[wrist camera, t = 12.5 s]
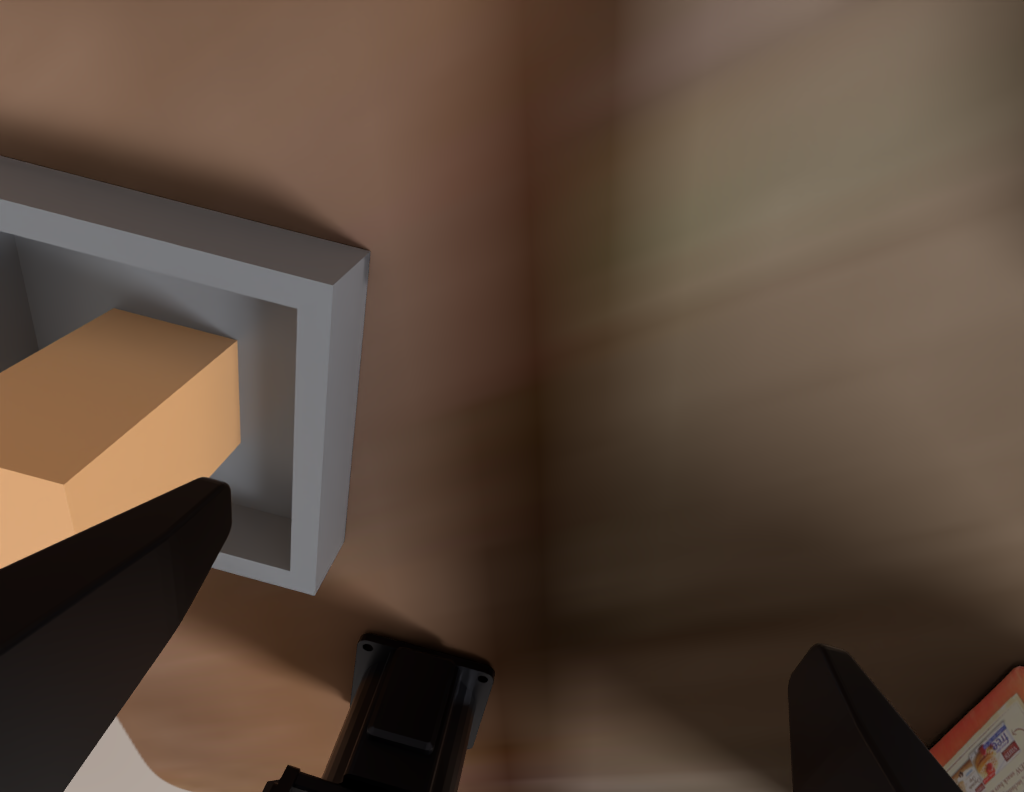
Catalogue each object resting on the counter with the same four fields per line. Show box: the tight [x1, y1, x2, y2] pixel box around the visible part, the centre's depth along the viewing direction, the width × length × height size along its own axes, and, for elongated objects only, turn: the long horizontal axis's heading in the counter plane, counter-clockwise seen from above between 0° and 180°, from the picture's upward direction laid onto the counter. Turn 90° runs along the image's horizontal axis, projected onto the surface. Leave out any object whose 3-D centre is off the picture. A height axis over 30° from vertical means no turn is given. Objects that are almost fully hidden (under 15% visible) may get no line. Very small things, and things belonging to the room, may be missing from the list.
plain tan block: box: [0, 308, 241, 569], centre depth 20 cm, size 4×4×8 cm
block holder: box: [0, 156, 370, 596], centre depth 23 cm, size 13×13×3 cm
